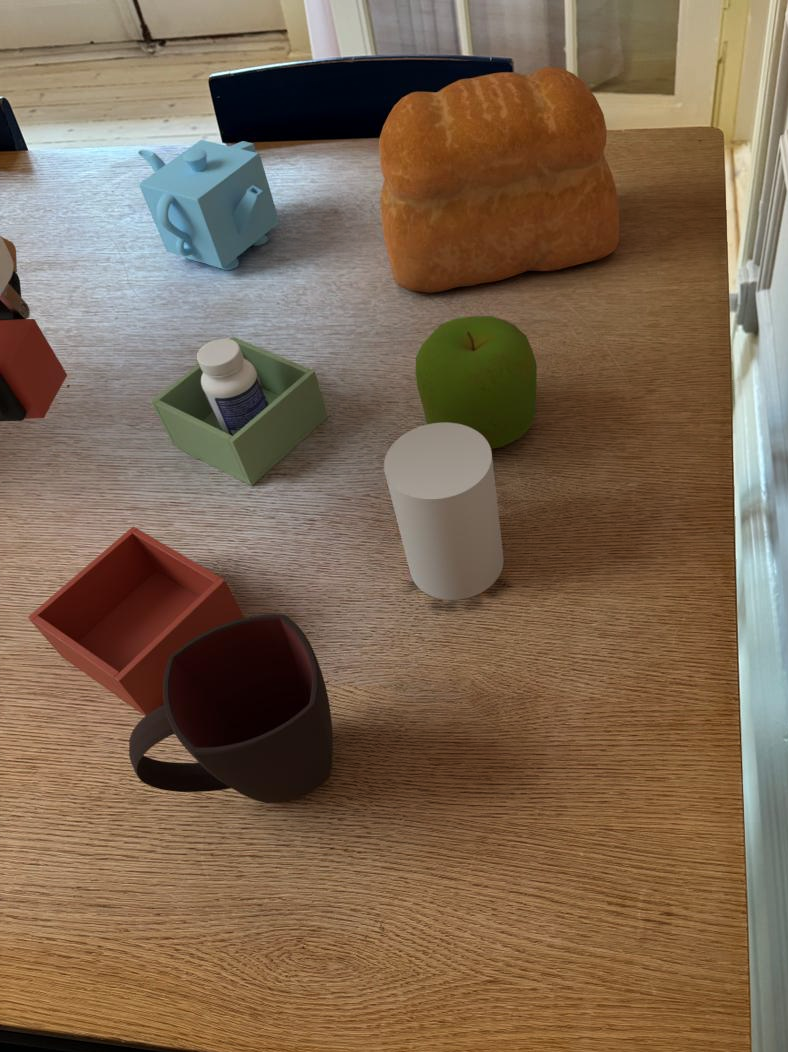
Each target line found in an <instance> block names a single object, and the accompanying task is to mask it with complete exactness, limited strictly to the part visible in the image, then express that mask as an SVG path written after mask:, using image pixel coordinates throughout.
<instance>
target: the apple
mask: <svg viewBox="0 0 788 1052" xmlns="http://www.w3.org/2000/svg"><path fill="white" fill-rule="evenodd" d="M415 380H416V381H415V382H416V388H417V392H418V395H419V399H420V402H421V406H422V411H423V414H424V417H425V420H426V425H428V424H433V423H457V424H461V425H465V426H468V427H470V428H472V429H474V430H476V431H478V432H479V433H480V434H481V435H483V436H484V438H485V439H486V440H487V442H488V443H489V445H490V448H491V450H492V449H497V448H503V447H504V446H506V445H509V444H510V443H512V442H514V441H516V440H518V439H520V438H521V437H522V436H523V435H525V433H526V432H527V431H528V430H529V429H531V427H532V425H533V422H534V419H535V415H536V411H537V410H536V409H537V393H538V364H537V361H536V358H535V354H534V351H533V348H532V346H531V342H530V341H529V338H528V336H527V335H526V334H525V333H524V332H523V331H521V330H520V329H519V328H518V327H517V326H516V325H515V324H514V323H511V322H509V321H508V320H505V319H502V318H499V317H496V316H492V315H471V316H463V317H457V318H454V319H451V320H448V321H446V322H443V323H440V324H439V325H438V327H437V328H436V329H434V330H433V332H431V334H430V335H429V336H428V337H427V338H426V339H425V340H424V341H423V342H422V343H421V345H420V347H419V350H418V352H417V353H416V356H415Z"/></svg>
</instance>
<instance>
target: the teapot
mask: <svg viewBox="0 0 788 1052" xmlns="http://www.w3.org/2000/svg"><path fill="white" fill-rule="evenodd" d="M137 154H138V155H139V156H140V157H141V158H143V160H145V161H146V162H147V163H148V164H149V166H150V167H151V169H152V171H153V172H154V173H152V174H151V175H149V176H148V177H147V178H144V180H143V181H141V182H139V184H138V185H139V188H140V191H141V193H142V196H143V198H144V200H145V203H146V205H147V208H148V211H149V212H150V215H151V217H152V219H153V222H154V224H155V228H156V229H157V232H158V234H159V237H160V239H161V242H162V243H163V246H164V248H165V251H166V253H170V254H173V255H176V256H180V257H183V258H185V259H188V260H190V261H196V262H199V263H202V264H206V265H208V266H212V267H215V268H219V269H221V270H224V271H230V270H234V269H236V268H237V267H238V266H239V264H240V262H239V259H238V257H239V256H240V255H242V254H243V253H244V252H245V251H247V249H249V248H250V247H251V246H253V247H258V246H259V247H260V246H263V245H265V244H266V243H267V242H268V240H269V238H268V237H267V236H266V234H267V233H268V232H269V231H270V230H272V229H273V228H274V227H275V226H277V225H278V224H279V223H280V219H279V215H278V212H277V208H276V205H275V201H274V198H273V195H272V191H271V187H270V184H269V181H268V178H267V174H266V170H265V168H264V164H263V161H262V158H261V154H260V152H257V151H256V148H255V144H254V143H253V142H252V143H251V142H248V141H243V140H242V141H239V142H236V143H235V144H232V145H225V144H221V143H217V142H212V141H209V140H203V139H201V140H199V141H197V142H196V143H194V144H193V145H191V146H190V147H188V148H187V149H186V150H184V151H183V152H182V153H180V154H178V155H177V156H176V157H174V158H173V159H172V160H170V161H169V162H167V163H166V162H164V160H163V159H162V158H161V157H160V156H158V155H157V154H156V153H155V152H154V151H151V150H147V149H140V150H138V152H137Z"/></svg>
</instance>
